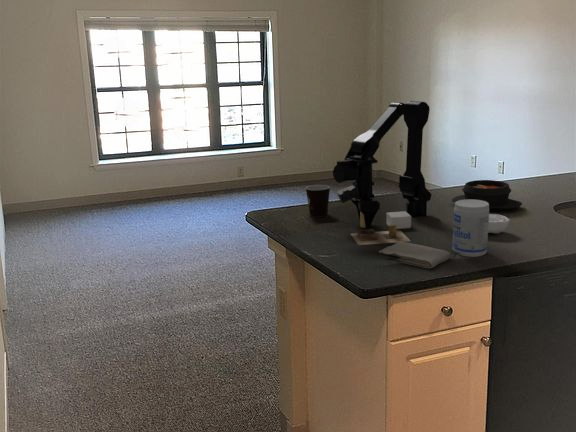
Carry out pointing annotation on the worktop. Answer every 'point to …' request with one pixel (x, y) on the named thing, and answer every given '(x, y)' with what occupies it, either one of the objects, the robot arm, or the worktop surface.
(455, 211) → the supplement tub
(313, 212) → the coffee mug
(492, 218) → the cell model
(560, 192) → the worktop surface
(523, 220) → the worktop surface
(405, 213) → the grey rounded cube
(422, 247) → the washcloth
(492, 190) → the casserole
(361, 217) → the peg
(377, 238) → the board
